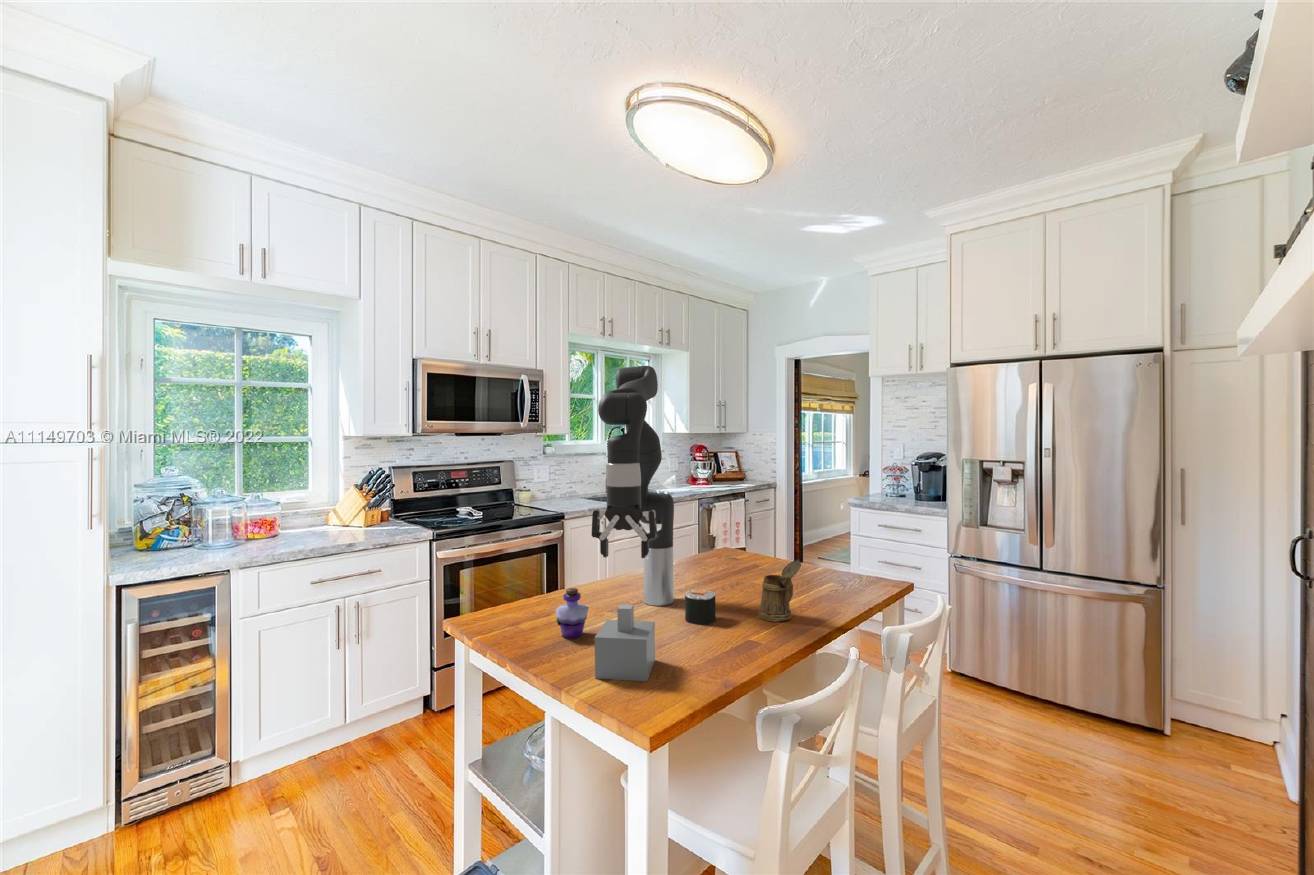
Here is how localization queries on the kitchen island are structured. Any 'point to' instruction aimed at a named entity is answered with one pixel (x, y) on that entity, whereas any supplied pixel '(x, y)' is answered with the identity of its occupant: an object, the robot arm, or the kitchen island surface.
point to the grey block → (625, 647)
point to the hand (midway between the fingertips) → (624, 557)
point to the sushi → (700, 607)
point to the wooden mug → (778, 594)
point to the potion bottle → (572, 615)
